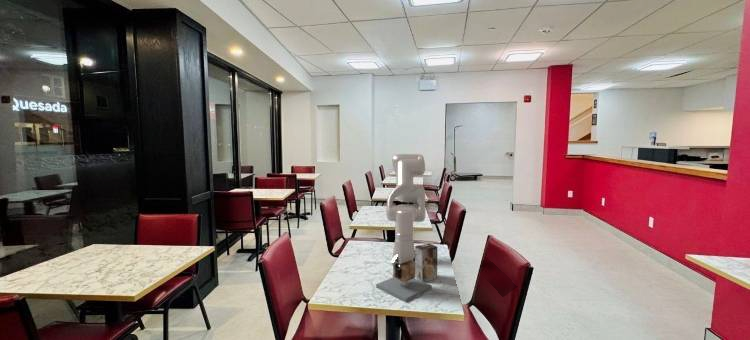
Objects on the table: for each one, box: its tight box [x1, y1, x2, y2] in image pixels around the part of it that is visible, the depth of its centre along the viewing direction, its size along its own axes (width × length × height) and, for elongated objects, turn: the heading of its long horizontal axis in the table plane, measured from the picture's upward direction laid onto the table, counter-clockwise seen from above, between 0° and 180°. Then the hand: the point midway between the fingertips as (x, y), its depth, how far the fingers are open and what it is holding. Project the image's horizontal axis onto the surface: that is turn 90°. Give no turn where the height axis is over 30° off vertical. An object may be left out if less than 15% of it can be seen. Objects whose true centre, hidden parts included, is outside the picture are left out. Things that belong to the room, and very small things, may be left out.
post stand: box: [375, 276, 433, 303], centre depth 141 cm, size 18×18×10 cm
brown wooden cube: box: [392, 261, 416, 282], centre depth 141 cm, size 7×7×7 cm
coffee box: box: [414, 243, 438, 283], centre depth 152 cm, size 9×6×16 cm
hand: (404, 274), depth 141 cm, fingers closed on brown wooden cube, 7 cm apart
